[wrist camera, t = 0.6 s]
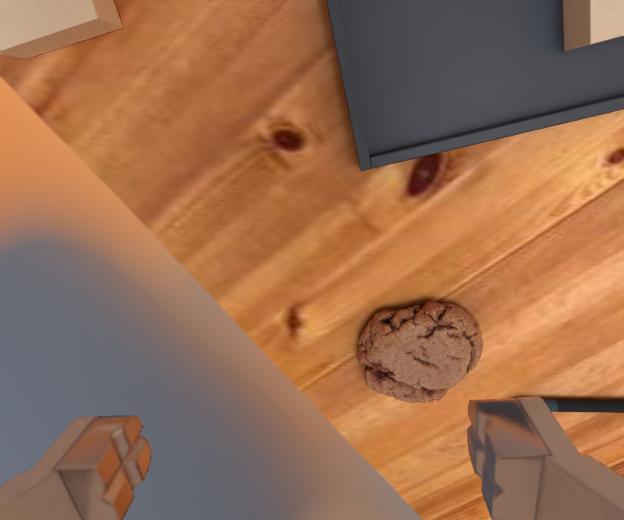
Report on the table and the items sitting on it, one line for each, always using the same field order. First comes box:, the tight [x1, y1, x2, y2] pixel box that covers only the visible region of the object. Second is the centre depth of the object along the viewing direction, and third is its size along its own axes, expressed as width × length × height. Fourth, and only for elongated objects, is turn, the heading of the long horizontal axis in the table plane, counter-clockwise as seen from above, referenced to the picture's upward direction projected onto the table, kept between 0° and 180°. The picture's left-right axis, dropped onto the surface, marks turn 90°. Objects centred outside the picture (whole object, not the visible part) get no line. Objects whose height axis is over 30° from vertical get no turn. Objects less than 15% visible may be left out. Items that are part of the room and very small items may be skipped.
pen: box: [543, 399, 624, 413], centre depth 35 cm, size 1×16×1 cm, turn 93°
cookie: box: [357, 301, 483, 403], centre depth 33 cm, size 10×11×3 cm
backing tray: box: [326, 0, 624, 171], centre depth 25 cm, size 24×14×2 cm, turn 104°
